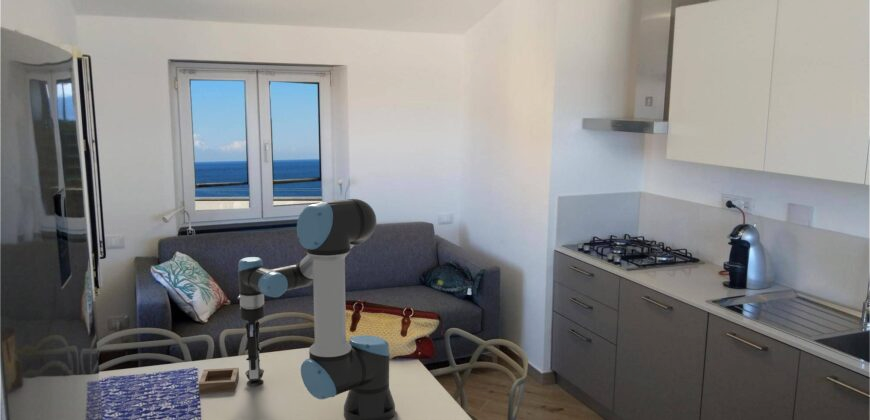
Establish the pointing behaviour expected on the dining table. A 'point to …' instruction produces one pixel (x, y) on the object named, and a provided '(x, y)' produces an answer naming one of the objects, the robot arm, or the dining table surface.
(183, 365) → the dining table surface
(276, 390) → the dining table surface
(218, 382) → the walnut holder
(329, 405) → the dining table surface
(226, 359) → the dining table surface
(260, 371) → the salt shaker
